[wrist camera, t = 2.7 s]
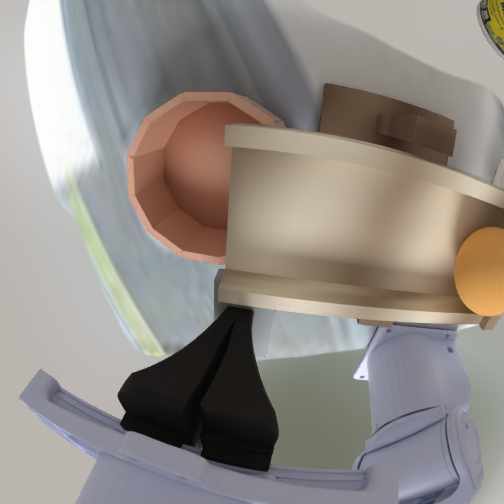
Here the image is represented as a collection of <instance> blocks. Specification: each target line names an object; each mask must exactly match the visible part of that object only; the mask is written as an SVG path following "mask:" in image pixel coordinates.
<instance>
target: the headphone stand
mask: <svg viewBox="0 0 504 504" xmlns="http://www.w3.org/2000/svg"><path fill="white" fill-rule="evenodd" d="M492 184H493V185H495V186H498V187H500V188H502V189H504V160H503V159H501V158H500V162H499V165H498V168H497V171H496V174H495V177H494V180H493V183H492Z"/></svg>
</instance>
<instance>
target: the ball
mask: <svg viewBox="0 0 504 504" xmlns="http://www.w3.org/2000/svg"><path fill="white" fill-rule="evenodd" d="M454 278H455V285H456V289H457V291H458V294H459V296H460V298H461V300H462V301H463V303H464V304H465V305H466V306H467V307H468V308H469V309H470V310H472V311H473V312H475V313H477V314H479V315H482V316H497V315H500V314H502V313H504V229H502V228H499V227H484V228H481V229H479V230H477V231H475V232H474V233H472V234H471V235H470V236H469V237H468V238H467V239H466V240H465V241H464V243H463V244H462V246H461V248H460V250H459V252H458V254H457V257H456V261H455V268H454Z"/></svg>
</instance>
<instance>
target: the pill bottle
mask: <svg viewBox="0 0 504 504" xmlns="http://www.w3.org/2000/svg"><path fill="white" fill-rule="evenodd" d="M477 17H478V21H479V24H480V27H481V29H482V32H483V34H484V35H485V37H486V39H487V41H488V42H489V44H490V45H491V46H492V47H493V48H494V50H495V51H496V52H497V53H498V54H499V55H500V56H501V57H502V58H503V59H504V0H481V1H480V2H479V4H478V7H477Z"/></svg>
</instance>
